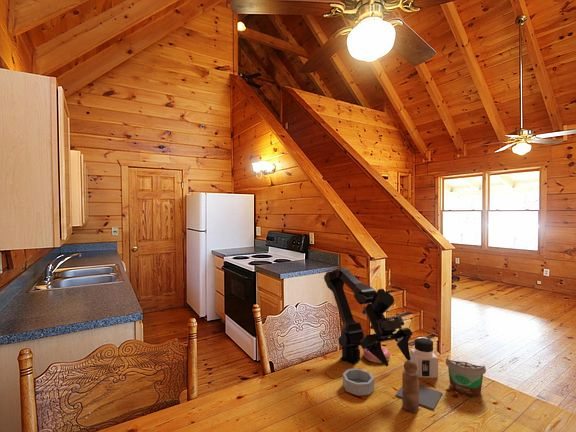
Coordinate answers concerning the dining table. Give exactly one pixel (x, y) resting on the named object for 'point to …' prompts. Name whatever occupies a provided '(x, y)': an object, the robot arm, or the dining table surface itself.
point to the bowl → (358, 381)
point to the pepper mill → (410, 387)
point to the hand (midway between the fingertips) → (398, 363)
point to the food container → (465, 377)
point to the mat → (426, 397)
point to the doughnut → (373, 358)
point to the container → (424, 358)
